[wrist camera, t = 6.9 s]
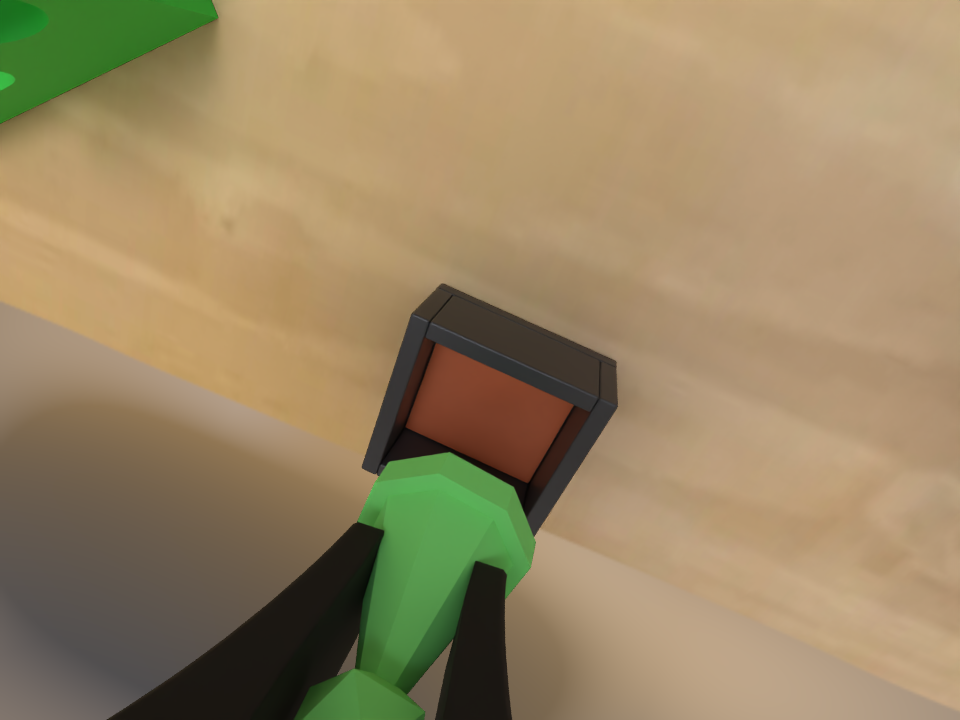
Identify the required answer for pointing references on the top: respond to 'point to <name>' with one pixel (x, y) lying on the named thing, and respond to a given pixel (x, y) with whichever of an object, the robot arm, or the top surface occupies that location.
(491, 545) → the game piece
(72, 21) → the mechanical part
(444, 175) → the top surface
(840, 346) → the top surface
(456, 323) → the pad holder
